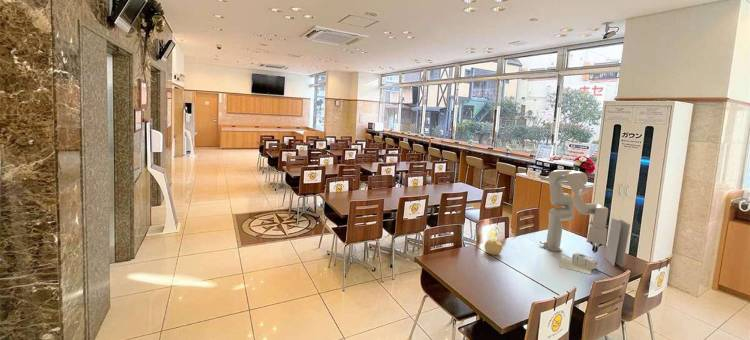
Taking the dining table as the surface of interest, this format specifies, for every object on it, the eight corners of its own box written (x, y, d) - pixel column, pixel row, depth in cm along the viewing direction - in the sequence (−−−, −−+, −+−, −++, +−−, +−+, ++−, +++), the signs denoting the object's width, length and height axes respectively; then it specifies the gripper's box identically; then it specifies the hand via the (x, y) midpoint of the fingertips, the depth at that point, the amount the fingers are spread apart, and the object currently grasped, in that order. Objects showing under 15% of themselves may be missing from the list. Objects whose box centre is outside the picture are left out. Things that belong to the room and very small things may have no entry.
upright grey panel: (622, 267, 243) (630, 224, 238) (613, 266, 244) (621, 223, 239) (613, 259, 257) (620, 218, 252) (605, 258, 258) (611, 218, 253)
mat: (559, 266, 238) (559, 266, 238) (563, 257, 254) (563, 257, 254) (590, 274, 228) (590, 274, 228) (592, 264, 245) (592, 264, 245)
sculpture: (503, 257, 249) (504, 242, 247) (485, 255, 250) (486, 240, 249) (500, 251, 260) (501, 237, 258) (483, 249, 262) (484, 235, 260)
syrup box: (593, 261, 234) (572, 253, 247) (592, 270, 235) (571, 261, 248) (598, 260, 237) (577, 252, 249) (597, 268, 238) (576, 260, 250)
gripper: (585, 224, 233) (581, 250, 235) (612, 229, 224) (607, 257, 227) (586, 221, 239) (581, 247, 242) (612, 226, 231) (608, 253, 234)
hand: (594, 252), depth 234 cm, fingers closed
